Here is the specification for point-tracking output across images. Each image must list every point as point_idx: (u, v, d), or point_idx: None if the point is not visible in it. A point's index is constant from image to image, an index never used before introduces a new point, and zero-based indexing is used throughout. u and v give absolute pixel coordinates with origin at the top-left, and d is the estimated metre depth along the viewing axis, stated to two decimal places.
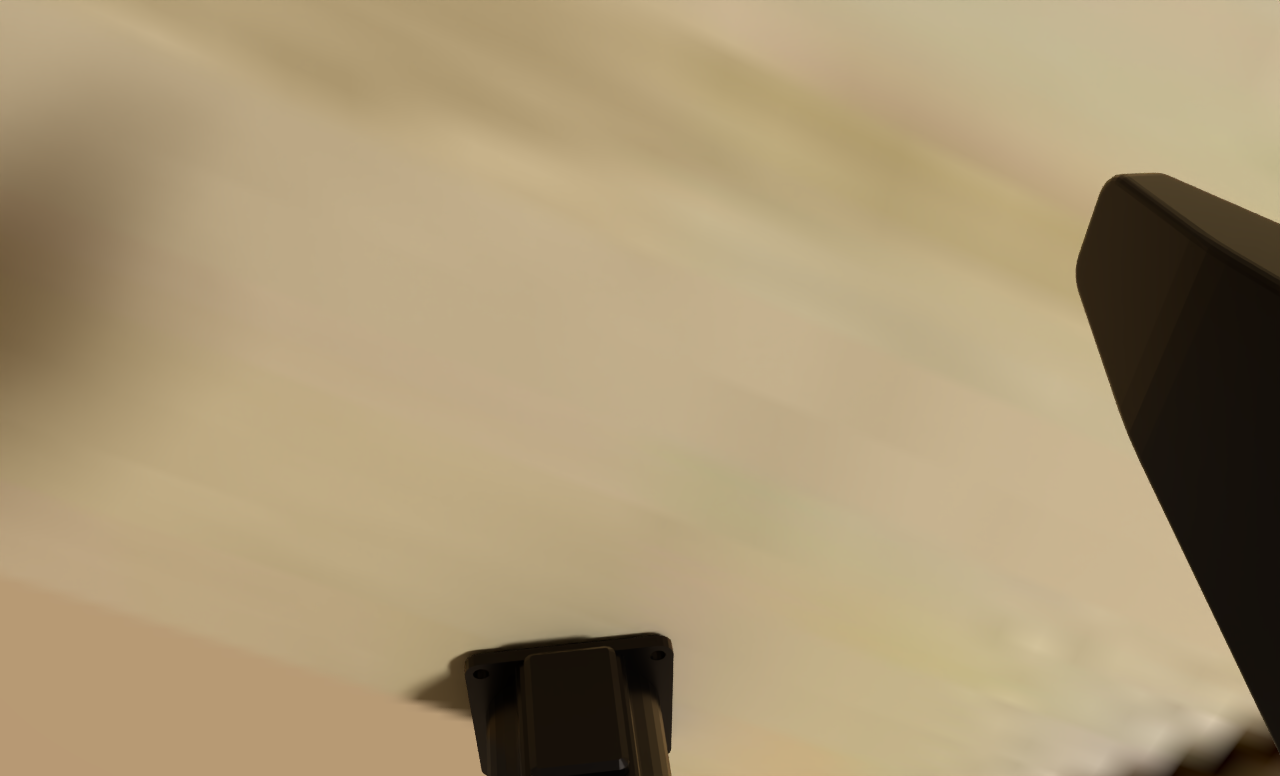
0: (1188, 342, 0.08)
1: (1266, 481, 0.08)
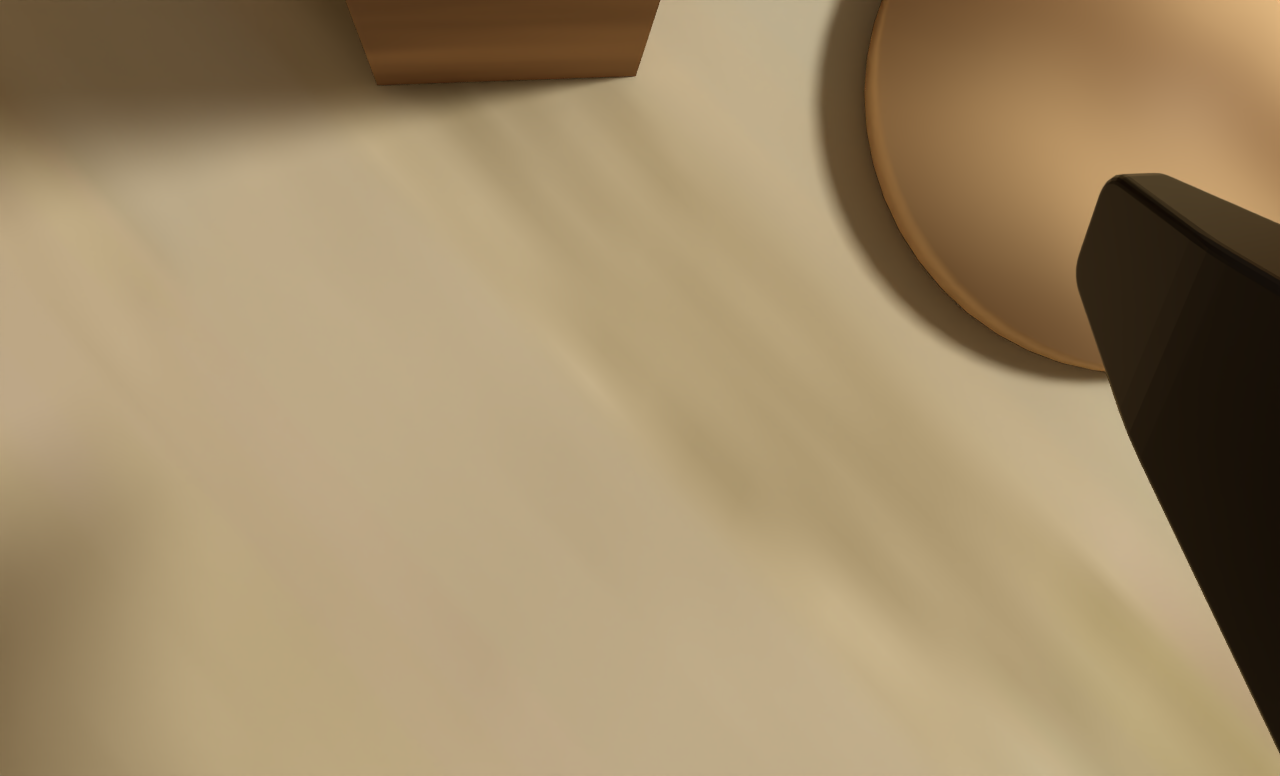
0: (1188, 342, 0.08)
1: (1266, 481, 0.08)
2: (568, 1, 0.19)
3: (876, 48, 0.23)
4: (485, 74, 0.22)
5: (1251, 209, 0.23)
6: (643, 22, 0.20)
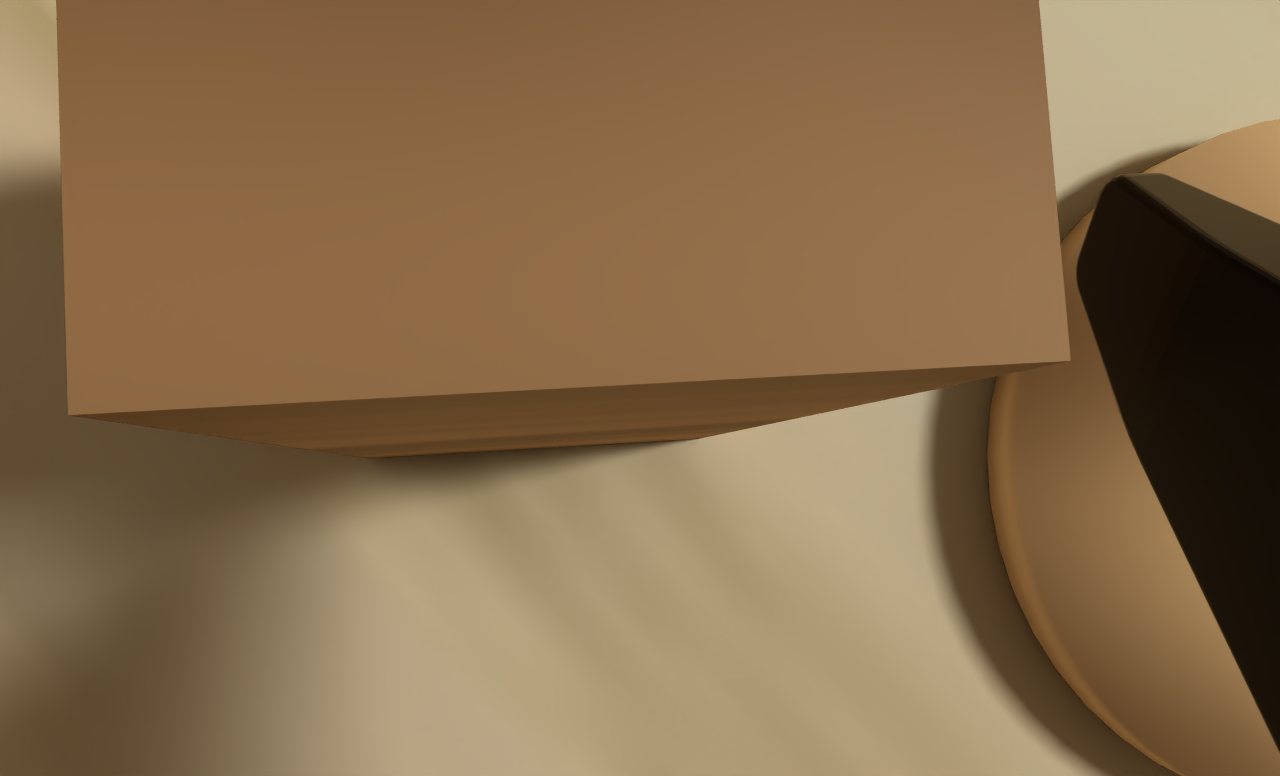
0: (1188, 342, 0.08)
1: (1266, 481, 0.08)
2: (629, 434, 0.14)
3: (1007, 408, 0.18)
4: (509, 449, 0.17)
5: None
6: (722, 432, 0.15)
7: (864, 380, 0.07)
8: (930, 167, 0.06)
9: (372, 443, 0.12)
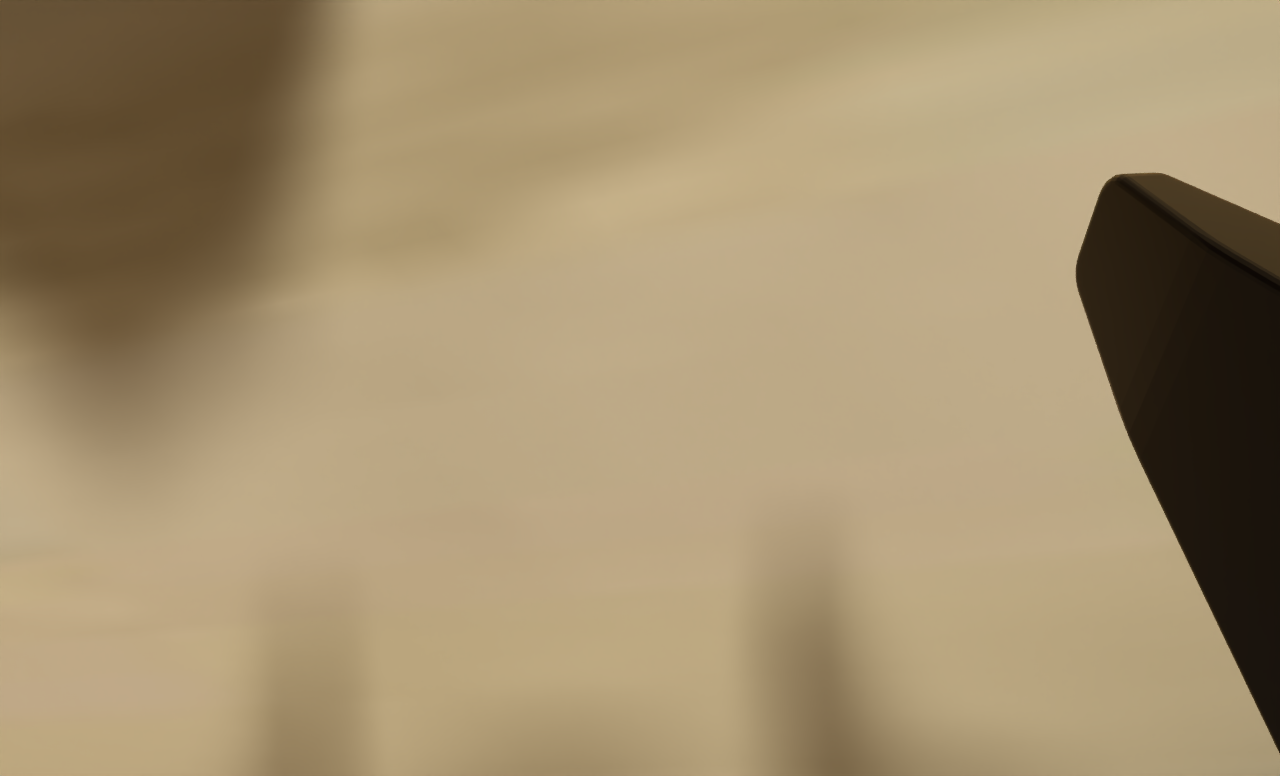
0: (1188, 342, 0.08)
1: (1266, 481, 0.08)
2: None
3: None
4: None
5: None
6: None
7: None
8: None
9: None
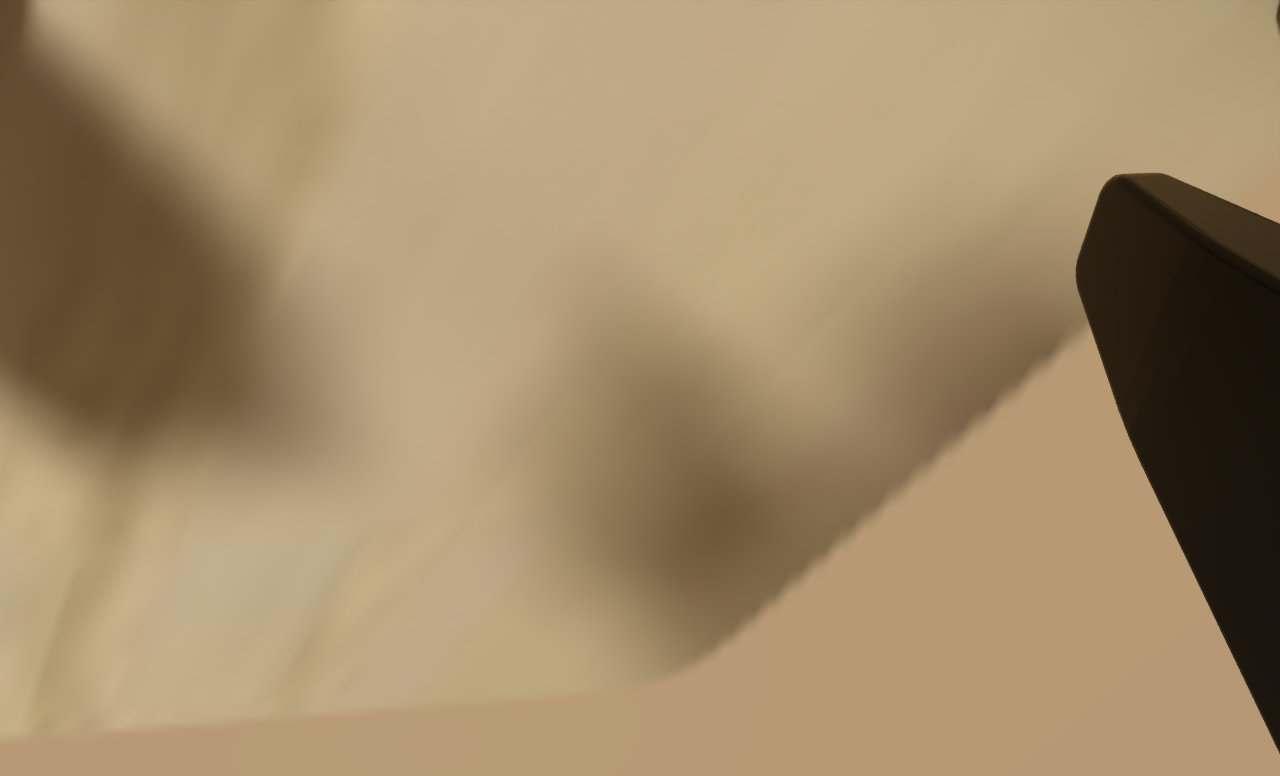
0: (1188, 342, 0.08)
1: (1266, 481, 0.08)
2: None
3: None
4: None
5: None
6: None
7: None
8: None
9: None
